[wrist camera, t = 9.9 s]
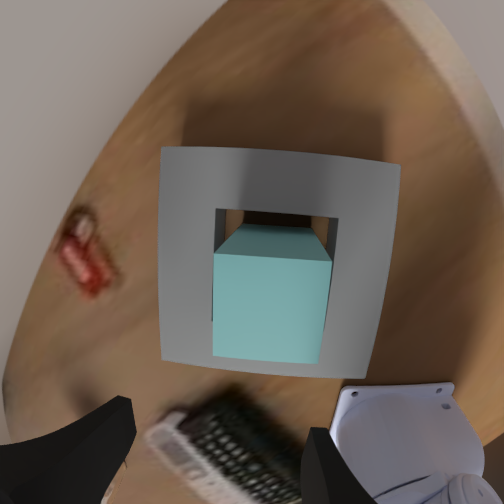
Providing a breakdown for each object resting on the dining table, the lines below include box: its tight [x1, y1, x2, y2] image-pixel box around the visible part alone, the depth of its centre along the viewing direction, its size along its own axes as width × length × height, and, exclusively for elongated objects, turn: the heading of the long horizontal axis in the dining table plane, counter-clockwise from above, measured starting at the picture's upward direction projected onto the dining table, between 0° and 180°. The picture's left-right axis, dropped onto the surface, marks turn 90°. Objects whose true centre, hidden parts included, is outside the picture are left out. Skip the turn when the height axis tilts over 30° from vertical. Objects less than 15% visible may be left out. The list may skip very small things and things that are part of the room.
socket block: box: [158, 147, 401, 379], centre depth 17 cm, size 12×12×3 cm
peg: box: [213, 224, 332, 364], centre depth 15 cm, size 4×4×8 cm
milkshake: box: [101, 461, 127, 504], centre depth 20 cm, size 4×5×10 cm
